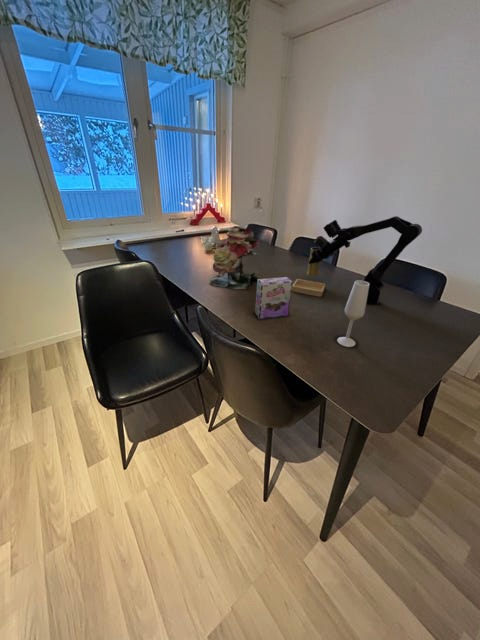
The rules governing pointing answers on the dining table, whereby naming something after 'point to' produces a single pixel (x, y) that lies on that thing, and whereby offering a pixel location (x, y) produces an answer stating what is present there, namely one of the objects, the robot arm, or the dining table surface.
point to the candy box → (273, 297)
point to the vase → (313, 264)
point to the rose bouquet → (234, 259)
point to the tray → (308, 287)
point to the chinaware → (211, 239)
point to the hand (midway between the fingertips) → (311, 261)
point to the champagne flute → (355, 308)
